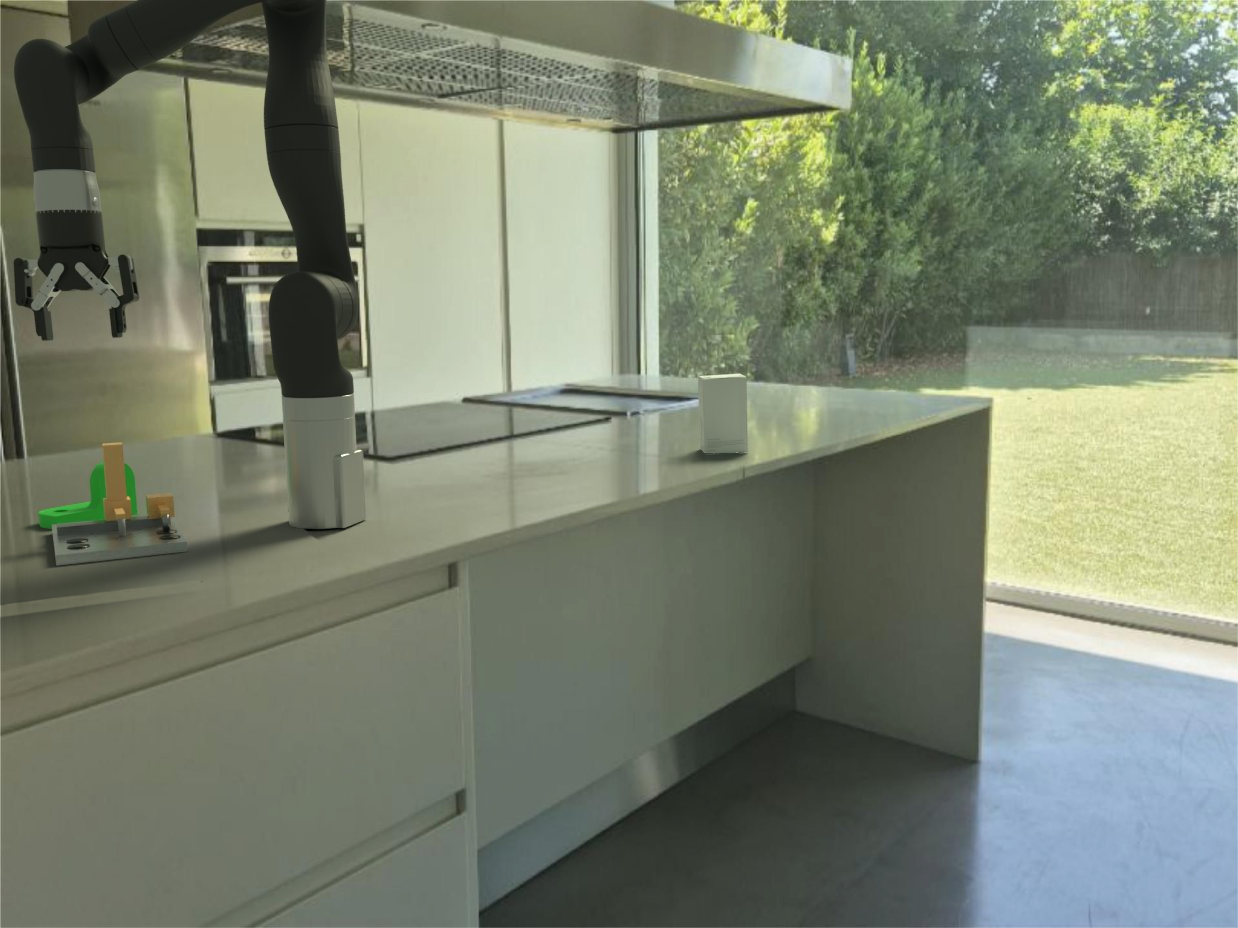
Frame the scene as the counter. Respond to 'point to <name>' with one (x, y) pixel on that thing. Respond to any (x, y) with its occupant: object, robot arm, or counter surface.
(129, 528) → the plate
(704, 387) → the skincare box
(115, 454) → the leg
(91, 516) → the mechanical part
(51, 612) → the counter surface
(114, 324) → the robot arm
